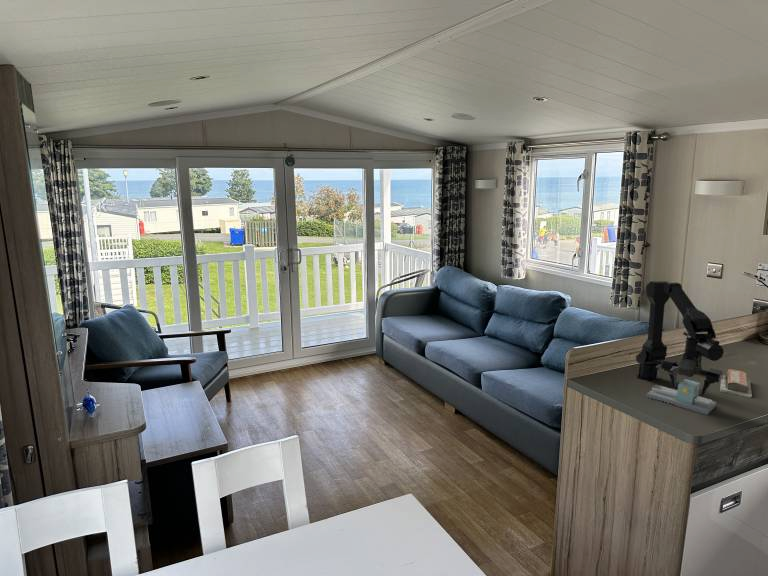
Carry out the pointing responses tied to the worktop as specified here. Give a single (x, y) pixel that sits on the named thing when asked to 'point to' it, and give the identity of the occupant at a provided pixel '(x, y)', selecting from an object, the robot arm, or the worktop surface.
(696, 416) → the worktop surface
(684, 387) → the block
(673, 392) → the din rail
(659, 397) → the plate
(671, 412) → the worktop surface
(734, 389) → the packaged product
